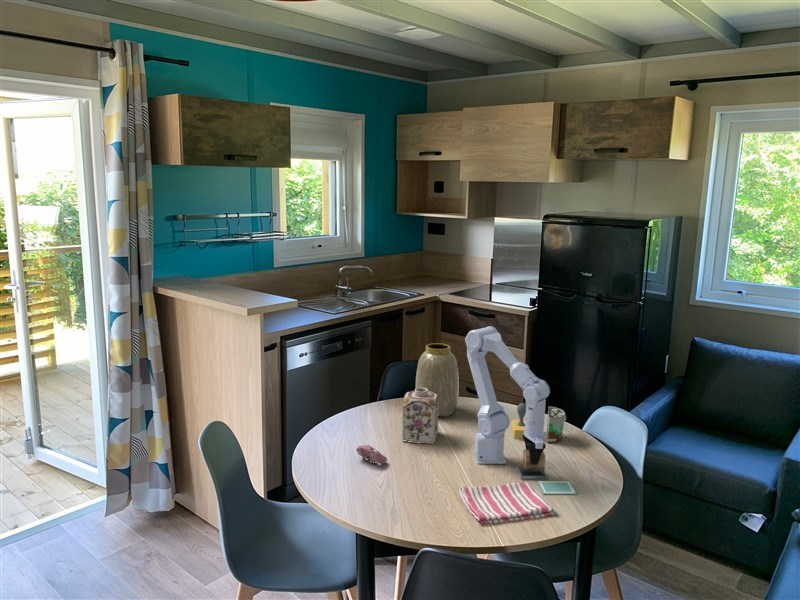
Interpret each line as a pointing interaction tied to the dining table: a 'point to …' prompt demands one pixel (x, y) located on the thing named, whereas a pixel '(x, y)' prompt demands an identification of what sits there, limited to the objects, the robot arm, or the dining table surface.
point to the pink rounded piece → (371, 454)
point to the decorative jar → (420, 416)
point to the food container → (555, 424)
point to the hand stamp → (528, 465)
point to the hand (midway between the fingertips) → (532, 460)
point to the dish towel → (505, 503)
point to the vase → (439, 376)
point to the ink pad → (531, 474)
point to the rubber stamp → (519, 422)
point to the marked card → (556, 488)
